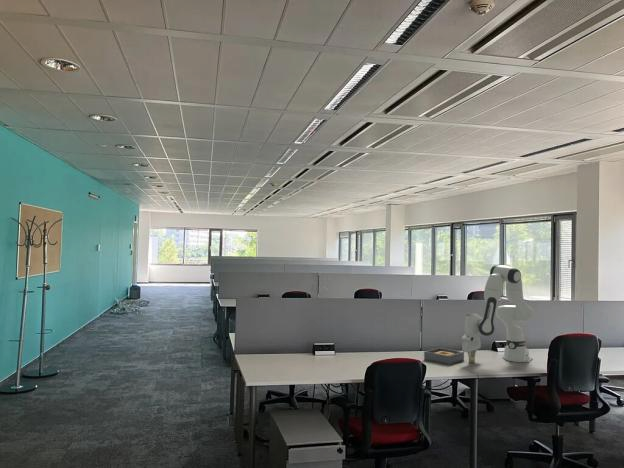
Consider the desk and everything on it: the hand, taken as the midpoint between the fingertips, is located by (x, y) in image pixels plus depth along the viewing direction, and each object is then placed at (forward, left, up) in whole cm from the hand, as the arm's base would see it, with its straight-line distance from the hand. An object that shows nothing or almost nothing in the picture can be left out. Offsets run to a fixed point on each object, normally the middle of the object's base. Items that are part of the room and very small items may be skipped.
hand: (471, 356), depth 323 cm
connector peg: (0, 0, -4) cm, 4 cm away
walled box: (+8, -17, -4) cm, 19 cm away
